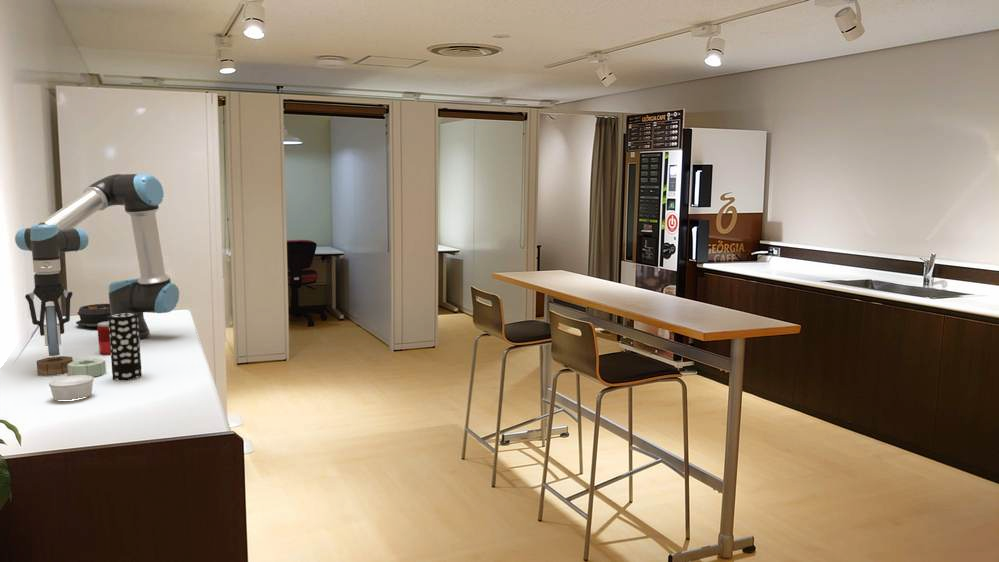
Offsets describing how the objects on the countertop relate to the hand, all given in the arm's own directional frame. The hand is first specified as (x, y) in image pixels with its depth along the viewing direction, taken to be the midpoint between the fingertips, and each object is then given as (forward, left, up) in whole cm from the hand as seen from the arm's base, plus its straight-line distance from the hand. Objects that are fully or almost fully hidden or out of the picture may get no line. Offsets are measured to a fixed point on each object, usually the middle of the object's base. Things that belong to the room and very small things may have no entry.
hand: (53, 344), depth 243 cm
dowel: (0, 0, -4) cm, 4 cm away
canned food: (-17, -22, -9) cm, 29 cm away
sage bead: (-9, +9, -9) cm, 16 cm away
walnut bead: (0, 0, -9) cm, 9 cm away
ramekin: (-5, +36, -10) cm, 37 cm away
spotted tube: (-20, +19, -9) cm, 29 cm away
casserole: (-15, -83, -10) cm, 85 cm away
